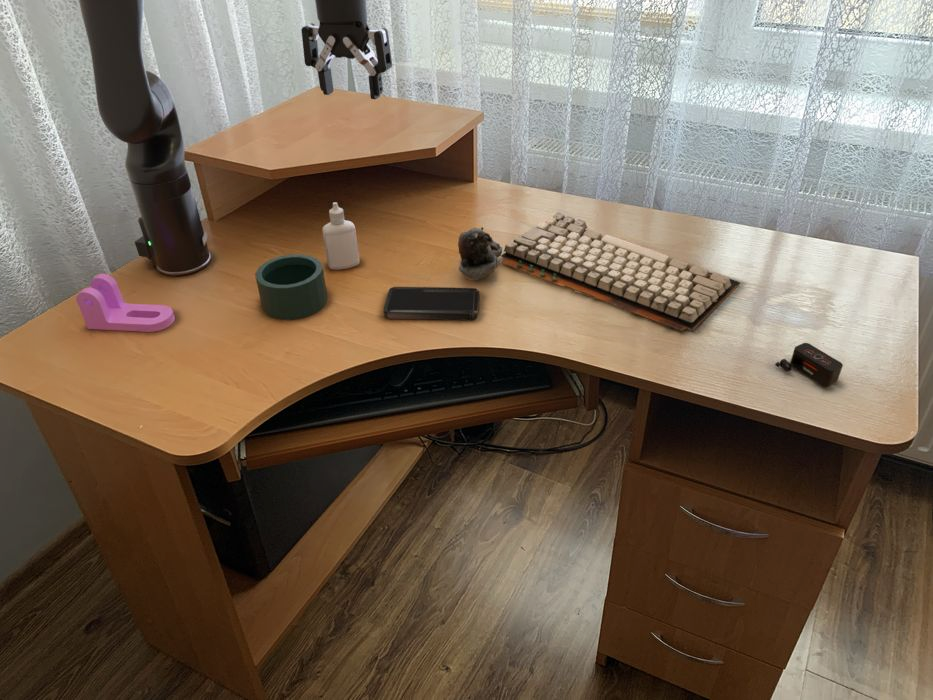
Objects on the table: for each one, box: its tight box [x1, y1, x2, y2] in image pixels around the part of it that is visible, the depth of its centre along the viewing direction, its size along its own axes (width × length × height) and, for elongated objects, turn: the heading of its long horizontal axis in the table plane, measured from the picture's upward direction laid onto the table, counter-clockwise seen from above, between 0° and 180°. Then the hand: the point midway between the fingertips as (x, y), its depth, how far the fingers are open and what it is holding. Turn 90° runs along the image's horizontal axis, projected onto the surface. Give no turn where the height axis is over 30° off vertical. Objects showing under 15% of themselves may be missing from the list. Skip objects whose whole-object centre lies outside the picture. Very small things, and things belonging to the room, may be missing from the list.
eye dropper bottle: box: [322, 201, 360, 271], centre depth 128 cm, size 4×6×12 cm
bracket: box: [75, 273, 176, 333], centre depth 116 cm, size 13×6×7 cm, turn 83°
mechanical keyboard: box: [500, 211, 741, 332], centre depth 126 cm, size 38×19×3 cm, turn 51°
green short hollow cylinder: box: [254, 253, 328, 321], centre depth 120 cm, size 11×11×6 cm
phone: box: [383, 286, 480, 321], centre depth 119 cm, size 8×1×15 cm
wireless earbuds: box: [774, 342, 844, 388], centre depth 102 cm, size 5×7×3 cm, turn 31°
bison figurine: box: [457, 226, 503, 281], centre depth 125 cm, size 12×7×10 cm, turn 173°
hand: (351, 95), depth 119 cm, fingers open, 8 cm apart
